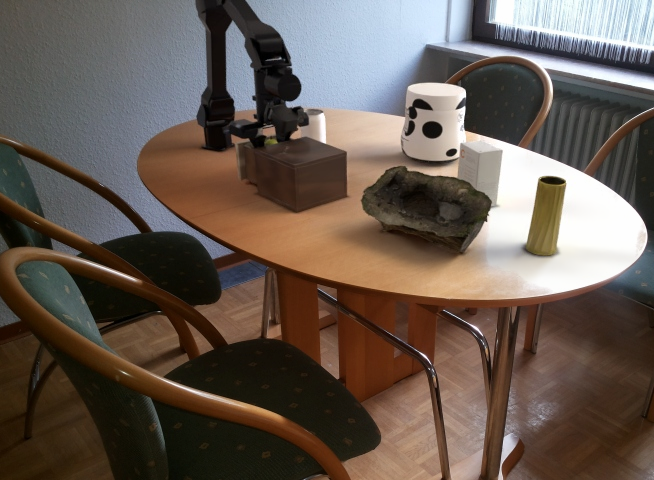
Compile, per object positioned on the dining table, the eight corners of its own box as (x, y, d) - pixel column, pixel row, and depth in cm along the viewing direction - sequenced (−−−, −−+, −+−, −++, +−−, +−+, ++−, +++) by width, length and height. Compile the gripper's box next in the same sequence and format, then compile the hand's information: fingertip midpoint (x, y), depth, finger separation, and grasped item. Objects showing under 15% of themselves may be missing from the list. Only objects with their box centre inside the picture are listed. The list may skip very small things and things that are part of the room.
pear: (258, 166, 151) (255, 136, 147) (269, 160, 155) (267, 131, 151) (276, 169, 150) (274, 139, 146) (287, 163, 153) (286, 134, 150)
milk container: (476, 158, 175) (483, 90, 165) (436, 172, 164) (441, 100, 154) (428, 143, 185) (432, 78, 175) (386, 156, 174) (388, 87, 164)
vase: (521, 242, 130) (532, 174, 122) (551, 242, 130) (563, 174, 123) (529, 256, 125) (541, 186, 117) (560, 255, 125) (573, 186, 118)
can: (328, 154, 174) (327, 109, 168) (323, 161, 168) (322, 115, 162) (304, 152, 174) (302, 107, 168) (299, 160, 169) (297, 114, 163)
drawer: (229, 174, 155) (225, 138, 151) (275, 163, 163) (272, 128, 159) (271, 195, 145) (269, 157, 140) (318, 181, 153) (317, 145, 148)
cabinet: (257, 193, 148) (253, 148, 142) (307, 179, 157) (306, 136, 151) (296, 212, 139) (294, 165, 134) (347, 196, 148) (347, 151, 143)
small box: (496, 205, 146) (503, 149, 139) (473, 209, 144) (479, 152, 137) (477, 193, 152) (483, 139, 145) (454, 197, 150) (459, 142, 143)
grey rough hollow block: (482, 282, 125) (520, 216, 126) (458, 257, 114) (500, 185, 115) (377, 233, 140) (412, 175, 141) (348, 207, 129) (386, 144, 130)
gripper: (253, 105, 133) (259, 177, 141) (323, 93, 145) (324, 160, 153) (224, 95, 140) (231, 164, 148) (293, 83, 151) (296, 149, 159)
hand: (272, 159), depth 152 cm, fingers closed on pear, 5 cm apart
